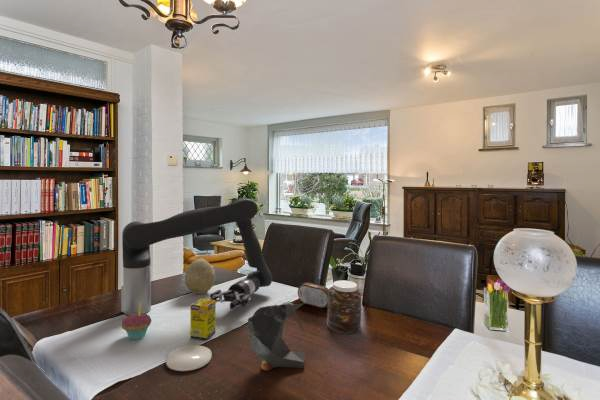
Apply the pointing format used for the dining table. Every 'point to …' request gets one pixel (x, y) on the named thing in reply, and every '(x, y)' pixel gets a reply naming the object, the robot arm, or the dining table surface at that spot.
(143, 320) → the cupcake
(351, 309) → the jar
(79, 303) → the dining table surface
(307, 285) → the tin
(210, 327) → the supplement box
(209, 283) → the fossilized egg
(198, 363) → the plate
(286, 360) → the grey bird figurine
